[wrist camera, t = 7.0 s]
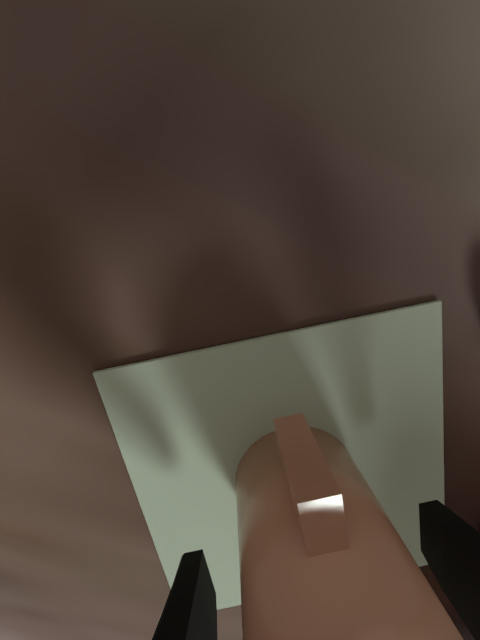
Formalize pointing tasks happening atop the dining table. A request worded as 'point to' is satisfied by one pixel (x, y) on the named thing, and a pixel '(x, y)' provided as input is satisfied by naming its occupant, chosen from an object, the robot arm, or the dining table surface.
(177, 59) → the dining table surface
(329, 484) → the terracotta jug
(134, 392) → the felt mat
